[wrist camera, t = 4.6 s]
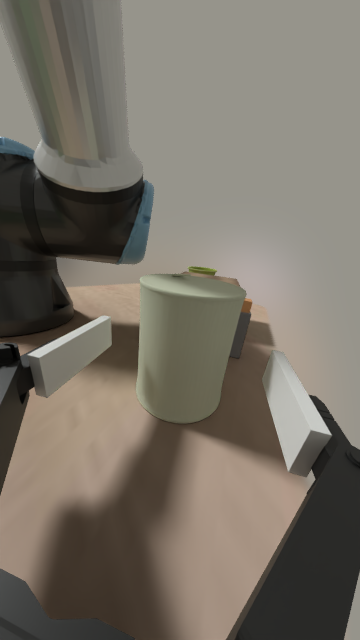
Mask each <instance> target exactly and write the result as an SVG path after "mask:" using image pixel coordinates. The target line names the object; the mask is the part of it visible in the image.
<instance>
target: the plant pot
mask: <svg viewBox="0 0 360 640" xmlns="http://www.w3.org/2000/svg"><path fill="white" fill-rule="evenodd" d="M188 269H189V272H192V273H199V274H206V275H212V276H214V275H215V272H217V270H215V269H210V268H204V267H188Z"/></svg>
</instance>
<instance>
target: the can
mask: <svg viewBox="0 0 360 640" xmlns="http://www.w3.org/2000/svg"><path fill="white" fill-rule="evenodd" d="M245 297H246V291H245V290H244V289H242V288H241V287H239V286H236V285H233V284H230V283H227V282H223V281H219V280H215V279H210V278H204V277H197V276H191V274H151V275H146V276H143V277H141V278H140V332H139V359H138V377H137V382H136V394H137V398H138V400H139V402H140V403H141V405H142V406H143V407H144V408H145V409H146V410H147V411H148V412H149V413H150V414H152V415H153V416H155V417H157V418H159V419H162V420H164V421H168V422H172V423H181V424H184V423H193V422H197V421H200V420H203V419H205V418H207V417H208V416H210V415H211V414H212V413H213V412H214V411H215V410H216V408H217V407H218V405H219V402H220V398H221V388H222V384H223V379H224V375H225V371H226V367H227V363H228V359H229V355H230V351H231V347H232V343H233V339H234V335H235V331H236V328H237V324H238V320H239V316H240V313H241V309H242V306H243V302H244V299H245Z"/></svg>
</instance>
